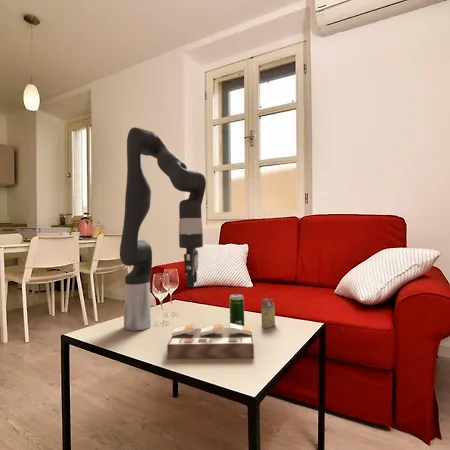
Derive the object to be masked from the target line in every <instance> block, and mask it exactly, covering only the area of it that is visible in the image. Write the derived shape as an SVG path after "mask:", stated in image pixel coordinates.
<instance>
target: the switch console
mask: <svg viewBox="0 0 450 450" xmlns="http://www.w3.org/2000/svg"><path fill="white" fill-rule="evenodd" d="M201 329H202V328H195V330H194V331H191V332H187V333H183V334H179V335H175V336H172V335H171V338H170V339H169V341H168V343H167V346H166V347H167V348H166V349H167V354H166V355H167V360H172V359H173V360H174V359H175V360H177V359H179V360H180V359H181V360H183V359H186V360H187V359H255V354H254V349H255V348H254V340H253V339H254V337H253V334H252V335H248V334H244V333H239V332H234V331H230V330H229V327H223V331H219V332H215V333H211V334H207V335H203V336H201Z"/></svg>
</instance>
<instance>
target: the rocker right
mask: <svg viewBox="0 0 450 450" xmlns="http://www.w3.org/2000/svg"><path fill="white" fill-rule="evenodd" d="M228 328H229V330H230V331H234V332H239V333H244V334H248V335H252V336H253V329H252V327H250V326H246V325H244V326H241V325H236V324H232V323H230V322H229V327H228Z"/></svg>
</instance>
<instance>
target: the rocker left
mask: <svg viewBox="0 0 450 450" xmlns="http://www.w3.org/2000/svg"><path fill="white" fill-rule="evenodd" d="M196 326H197V325H196V323H191V324H187V325H184V326H180V327H176V328H175V327H174V329H173V330H172V332H171V337H172V336H175V335H179V334H183V333H187V332H191V331H194V330H195V329H196V328H197V327H196Z"/></svg>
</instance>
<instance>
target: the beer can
mask: <svg viewBox="0 0 450 450" xmlns="http://www.w3.org/2000/svg"><path fill="white" fill-rule="evenodd" d="M230 323H232V324H236V325H241V326H245V298H244V295H243V294H238V293H237V294H234V293H233V294H230V296H229V324H230Z"/></svg>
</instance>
